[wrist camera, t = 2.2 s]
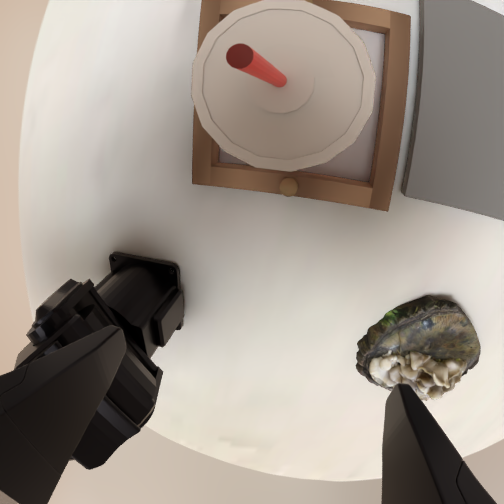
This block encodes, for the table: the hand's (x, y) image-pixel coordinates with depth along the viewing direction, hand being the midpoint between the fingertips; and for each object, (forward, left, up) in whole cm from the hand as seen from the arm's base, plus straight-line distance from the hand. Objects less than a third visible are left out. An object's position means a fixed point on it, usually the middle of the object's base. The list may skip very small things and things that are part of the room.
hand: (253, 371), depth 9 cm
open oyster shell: (+12, -9, -14) cm, 21 cm away
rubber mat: (+12, +10, -13) cm, 20 cm away
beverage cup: (-1, +8, -13) cm, 15 cm away
